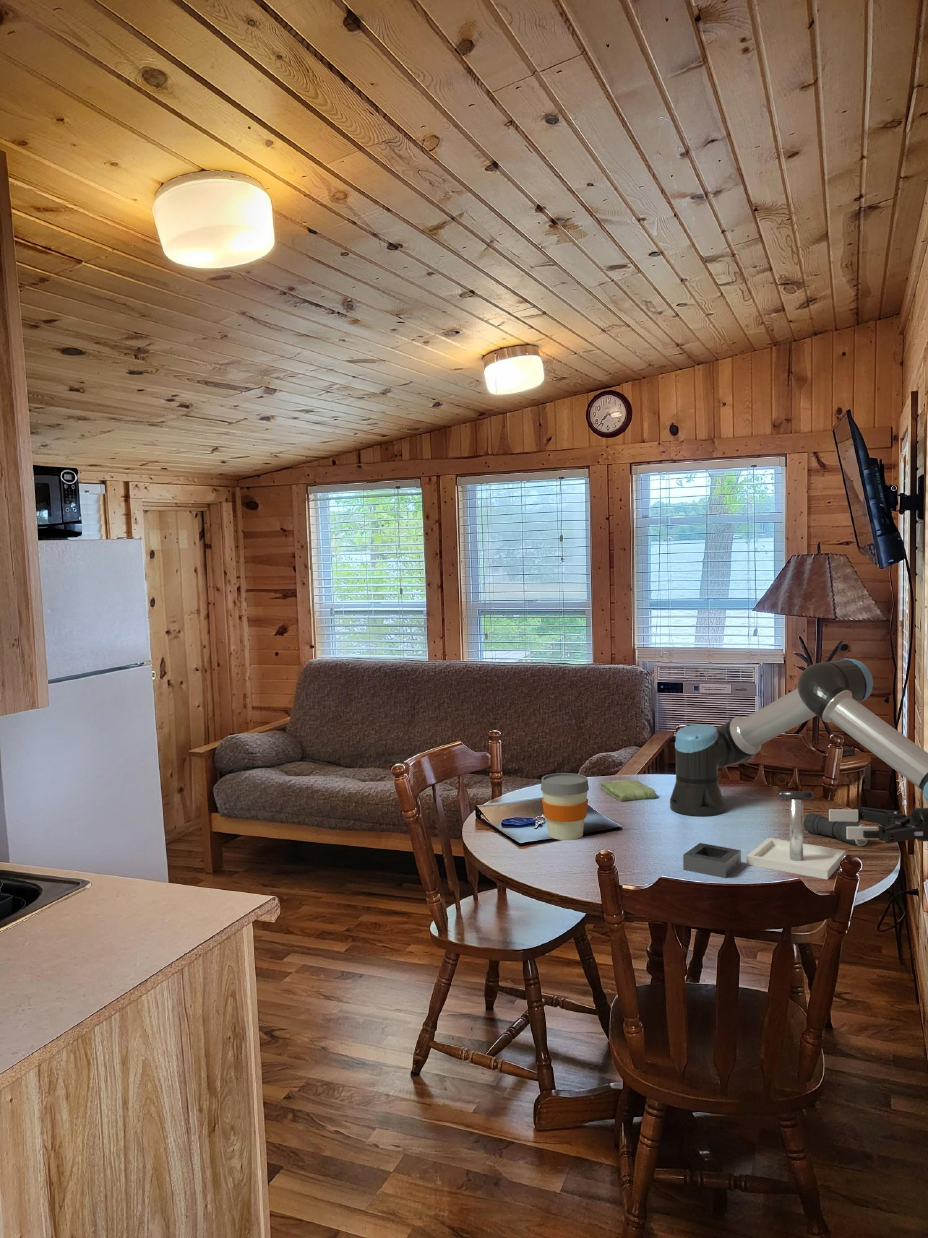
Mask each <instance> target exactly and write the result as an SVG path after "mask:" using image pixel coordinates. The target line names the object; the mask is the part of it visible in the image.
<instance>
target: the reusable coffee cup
mask: <svg viewBox="0 0 928 1238" xmlns="http://www.w3.org/2000/svg"><path fill="white" fill-rule="evenodd" d="M540 781H541V785H540V791H541V792H542V799H541V801H542V803H541V804H542V809H543V810H542V811H543V815H544V816H543V817H544V818H545V820H546V825H547V834H548V836H549V837H550V838H552V839H554V840H555V839H556V840H561V841H573V840H577V839H580V838H582V837H583V836H584V829H585V828H584V826H585V819H586V818H587V815H588V813H587V812H588V807H589V805H588V803H589V799H588V791H589V780H588V776H586V775H583V774H579V773H574V772H573V773H571V772H570V773H569V772H559V773H557V772H555V773H550V774H546V775H544V776H542V777H541V780H540Z"/></svg>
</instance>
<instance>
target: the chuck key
mask: <svg viewBox="0 0 928 1238" xmlns="http://www.w3.org/2000/svg"><path fill="white" fill-rule="evenodd" d="M777 797H778V799H780V800H789V801H788V802H789V804H788V805H789V806H788V807H789V809H788V810H789V811H788V812H789V813H788V815H789V817H788V818H789V819H788V822H789V830H788V831H789V841H790V859H791V860H793V861H802V860H803V843H804V800H813V799H814V798H815V793H814V792H813V791H807V790H806V791H805V790H804V791H803V790H801V791H799V790H797V791H796V790H793V791H792V790H789V791H787V790H785V791H783V790H782V791H779V792H778V793H777Z"/></svg>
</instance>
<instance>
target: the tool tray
mask: <svg viewBox="0 0 928 1238" xmlns="http://www.w3.org/2000/svg"><path fill="white" fill-rule="evenodd" d="M846 852H847V851H846V850H845V849H840V848H834V847H827V846H821V845H814V844H808V843H804V842H803V860H802V861H793V860H791V859H790V840H786V839H785V840H783V839H778V838H773V837H768V838H766V839H765V840H764V841H763V842H762V843H760V844H759V845H758V846H756V848H755V849H754V850H752V851H751V852H749V854H747V855H746V865H748V866H754V867H759V868H764V869H769V870H775V871H778V872H779V871H780V872H786V873H792V874H796V875H800V876H801V875H802V876H806V877H811V878H816V879H822V880H823V879H824V880H828V879H829V878H830V877H831V876H832V875H833V874H834V873H835V871H837V869H838V868H839V867H840V866H841V865H840V862H841V860H842V858H843V857H844V856H846V854H847V853H846Z"/></svg>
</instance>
